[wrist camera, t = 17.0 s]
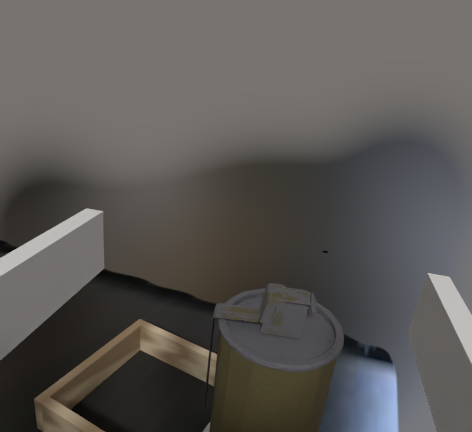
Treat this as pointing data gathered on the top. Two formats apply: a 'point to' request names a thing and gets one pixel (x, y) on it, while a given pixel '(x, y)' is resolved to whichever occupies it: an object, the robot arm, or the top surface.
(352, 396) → the top surface
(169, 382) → the top surface
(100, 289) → the top surface
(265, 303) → the canister
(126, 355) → the tan low open frame
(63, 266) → the robot arm
